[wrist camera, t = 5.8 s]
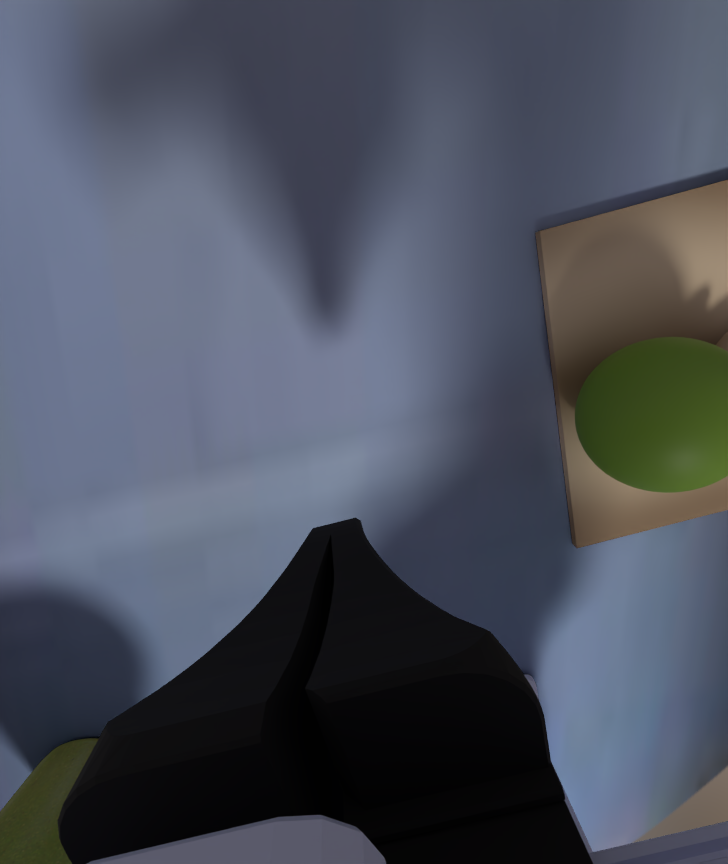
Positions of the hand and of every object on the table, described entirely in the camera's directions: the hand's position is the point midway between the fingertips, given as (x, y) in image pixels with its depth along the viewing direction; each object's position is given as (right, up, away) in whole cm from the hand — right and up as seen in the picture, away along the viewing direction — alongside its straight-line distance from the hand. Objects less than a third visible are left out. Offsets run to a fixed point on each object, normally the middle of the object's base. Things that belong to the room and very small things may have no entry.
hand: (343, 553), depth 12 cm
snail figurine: (+8, +3, +3) cm, 9 cm away
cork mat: (+15, +6, +6) cm, 17 cm away
